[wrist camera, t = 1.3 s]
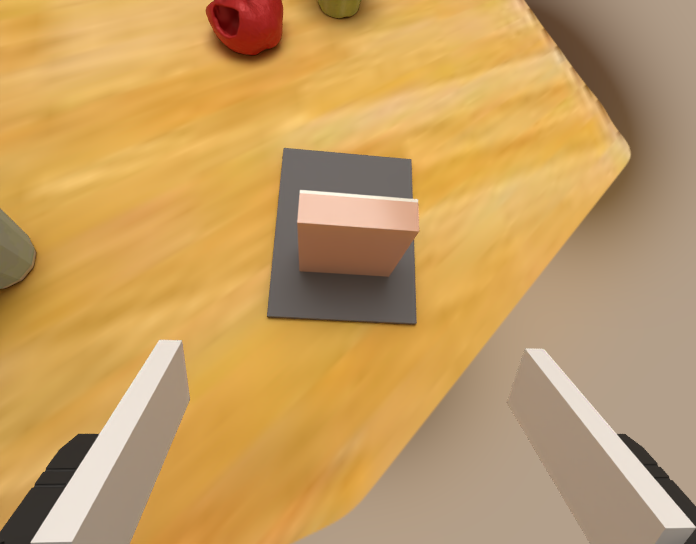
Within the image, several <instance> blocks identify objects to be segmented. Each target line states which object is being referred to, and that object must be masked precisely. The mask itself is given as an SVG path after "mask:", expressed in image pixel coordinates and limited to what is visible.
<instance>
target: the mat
mask: <svg viewBox="0 0 696 544" xmlns="http://www.w3.org/2000/svg"><path fill="white" fill-rule="evenodd" d="M300 190H308V191H320V192H333V193H345V194H358V195H370V196H382V197H395V198H407V199H413V196H412V165H411V159H401V158H390V157H379V156H368V155H357V154H346V153H335V152H324V151H312V150H301V149H290V148H284V150H283V161H282V171H281V181H280V191H279V201H278V211H277V221H276V231H275V241H274V251H273V261H272V271H271V282H270V292H269V302H268V312H267V317H274V318H294V319H315V320H335V321H355V322H375V323H396V324H416V323H417V322H416V291H415V259H414V240H413V241H412V243H411V244H410V246H409V247H408V249H407V250H406V252H405V253H404V255H403V256H402V258H401V259H400V261H399V262H398V264H397V265H396V267H395V268H394V270H393V271H392V273H391V274H390V276H389V277H386V276H369V275H353V274H336V273H320V272H304V271H299V251H298V227H297V220H298V207H299V195H300Z"/></svg>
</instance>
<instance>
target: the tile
mask: <svg viewBox="0 0 696 544" xmlns="http://www.w3.org/2000/svg"><path fill="white" fill-rule="evenodd" d="M297 227H298V251H299V271H304V272H320V273H336V274H353V275H369V276H386V277H389V276H390V274H391V273H392V271H393V270H394V268H395V267H396V265H397V264H398V262H399V261H400V259H401V258H402V256H403V255H404V253H405V252H406V250H407V249H408V247H409V246H410V244H411V243H412V241H413V240H414V238H415V237H416V235H417V234H418V232H419V214H418V199H407V198H395V197H382V196H370V195H358V194H345V193H333V192H320V191H308V190H300V195H299V207H298V220H297Z"/></svg>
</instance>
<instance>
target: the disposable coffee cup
mask: <svg viewBox="0 0 696 544" xmlns="http://www.w3.org/2000/svg"><path fill="white" fill-rule="evenodd" d="M35 257H36V251H35V248H34V246H33V244H32V242H31V240H30V238H29V236H28V235H27V234H26V233H25V232H24V231H23V230H22V229H21V228H20V227H19V226H18V225H17V224H16V223H15V222H14V221H13V220H12V219H11V218H10V217H9V216H8V215H6V214H5V213H4V212H3V211H2V210H1V209H0V289H3V288H7V287H9V286H11V285H13V284H15V283H17V282H19V281H21V280H23V279H24V278H25V276H26V275H27V274H28V273H29V272H30V271H31V269H32V268H33V267H34V262H35Z"/></svg>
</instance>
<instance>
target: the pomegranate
mask: <svg viewBox="0 0 696 544" xmlns="http://www.w3.org/2000/svg"><path fill="white" fill-rule="evenodd" d="M206 15H207V17H208V20H209V22H210V24H211V26H212V28H213V31H214V33H215V34H216V35H217V37H218V38H219V39H220V40H221V41H222V42H223V43H224V44H225V45H226V46H227V47H228V48H230V49H231V50H233V51H235V52H239V53H242V54H245V55H257V54H259V53H260V52H262V51H263V50H265V49H270V48H273V47H275V46H276V45H277V44H278V43H279V41H280V40H281V36H282V25H283V24H282V20H283V4H282V0H214V2H211V3H210V4H209V5H208V6H207V7H206Z"/></svg>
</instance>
